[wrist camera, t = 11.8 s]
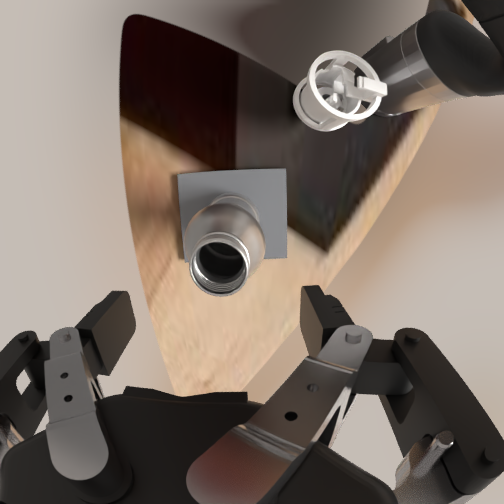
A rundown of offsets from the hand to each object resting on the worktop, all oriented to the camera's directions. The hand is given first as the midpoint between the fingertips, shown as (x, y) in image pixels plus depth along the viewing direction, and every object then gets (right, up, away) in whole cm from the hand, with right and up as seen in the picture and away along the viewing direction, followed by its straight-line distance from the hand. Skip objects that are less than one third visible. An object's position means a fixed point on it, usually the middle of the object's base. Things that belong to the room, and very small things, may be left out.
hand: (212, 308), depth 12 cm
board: (-1, +7, +25) cm, 26 cm away
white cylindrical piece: (+10, +21, +21) cm, 32 cm away
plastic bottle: (-1, +7, +24) cm, 25 cm away
